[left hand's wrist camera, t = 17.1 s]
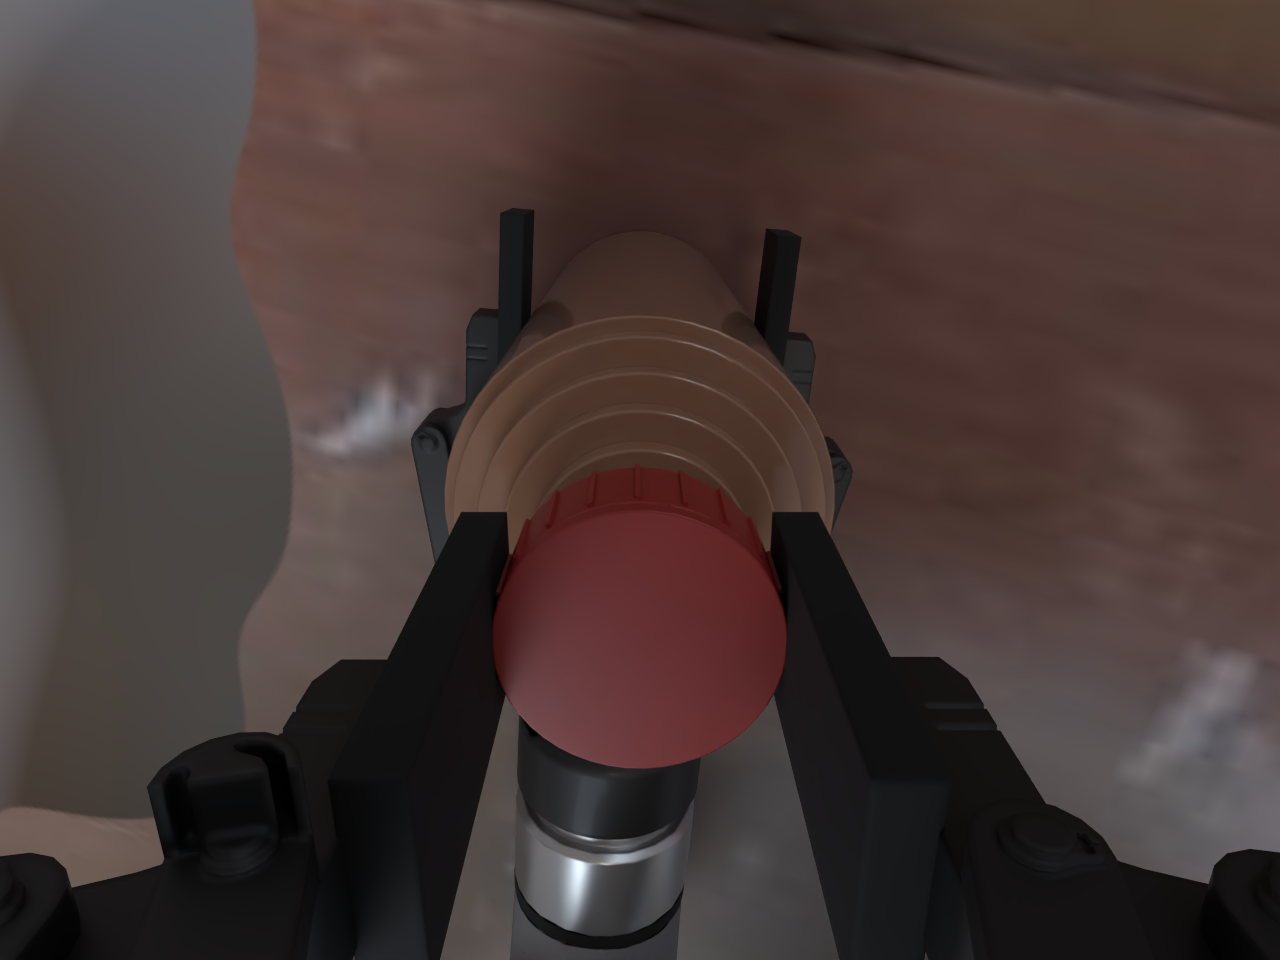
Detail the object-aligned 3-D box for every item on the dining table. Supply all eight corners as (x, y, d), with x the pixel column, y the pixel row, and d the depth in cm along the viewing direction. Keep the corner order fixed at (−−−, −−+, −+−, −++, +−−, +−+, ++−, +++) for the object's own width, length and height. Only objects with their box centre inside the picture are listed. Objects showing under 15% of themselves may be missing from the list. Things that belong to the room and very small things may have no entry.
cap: (537, 717, 16) (524, 789, 14) (478, 486, 14) (455, 534, 12) (787, 682, 15) (805, 750, 14) (755, 441, 14) (772, 484, 12)
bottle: (511, 278, 35) (276, 503, 13) (693, 197, 34) (799, 283, 11) (591, 450, 38) (518, 895, 15) (763, 379, 37) (964, 746, 14)
